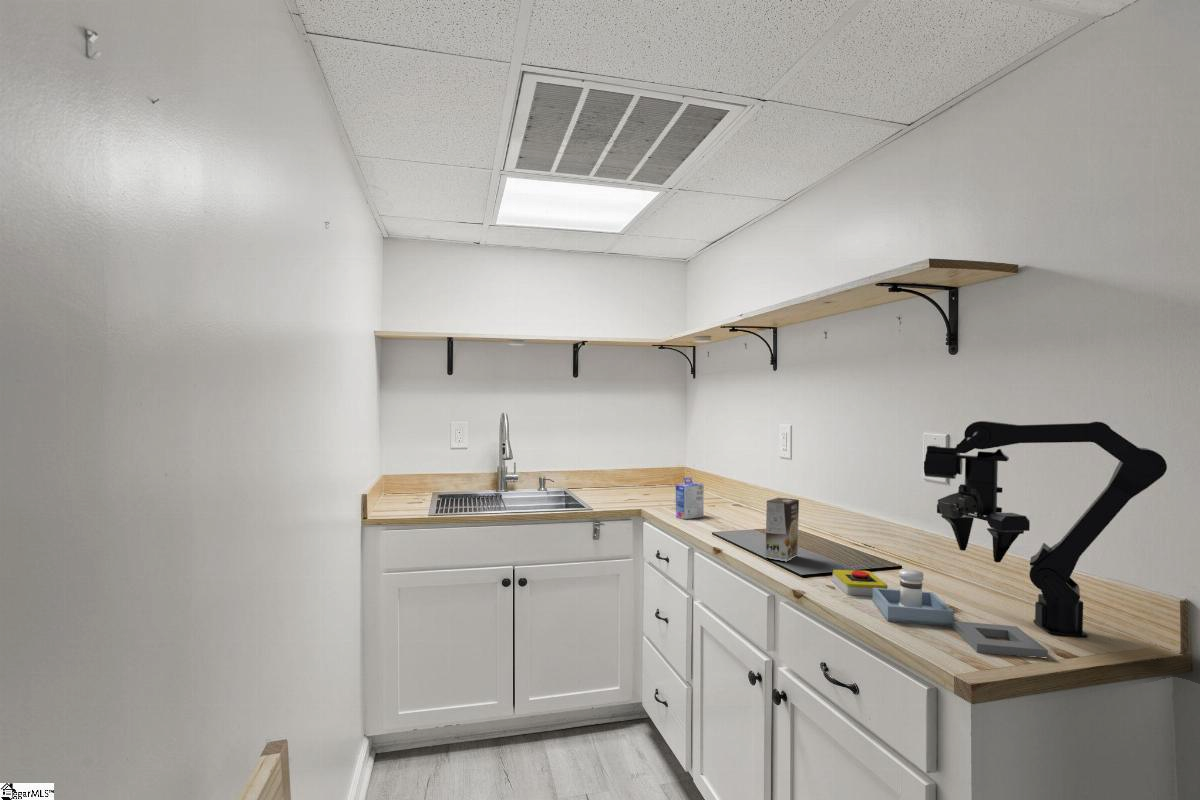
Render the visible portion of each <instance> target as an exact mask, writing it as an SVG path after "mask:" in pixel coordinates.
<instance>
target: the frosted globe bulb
mask: <svg viewBox="0 0 1200 800" xmlns="http://www.w3.org/2000/svg"><path fill="white" fill-rule="evenodd" d="M899 578H900V579H899V588H900V589H899V590H900V602H899V606H906V607H919V608H923V606H922V591H923V581H924V573H923V572H922V571H921V570H915V569H911V568H910V569H909V568H901V569H899Z"/></svg>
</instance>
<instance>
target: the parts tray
mask: <svg viewBox="0 0 1200 800" xmlns="http://www.w3.org/2000/svg"><path fill="white" fill-rule="evenodd" d="M899 602H900V589H897V588H896V589H894V588H887V589H884V588H873V599H872V603H873V604H874V606H875V607H877V609H878V611H879V612H880V613H881V614H882V616H883V617H884V618H885V620H886V621H887V622H892V623H903V624H912V625H913V624H914V625H926V626H938V627H949V628H950V627H951V628H953V621H955V611H954V610H953V609H951V607H950V606H948V605H947V604H946V603H945V602H944V601H943V600H942V599H941V598H939V596H938V595H936V594H935V593H934V592H933V591H923V590H922V606H923V608H919V607H906V606H899Z"/></svg>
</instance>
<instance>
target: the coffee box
mask: <svg viewBox="0 0 1200 800" xmlns="http://www.w3.org/2000/svg"><path fill="white" fill-rule="evenodd" d="M799 505H800V501H799V499H796V498H789V497H788V498H787V497H776V498H773V499H768V500H766V511H765V512H766V515H765V516H766V520H765V522H766V523H765V558H766V557H771V558H772V557H773V558H781V559H787V560H788V559H789V558H791V557H793V556H795V555H797V554H799V553H798V551H799V549H798V548H799V512H800V511H799V508H800V507H799ZM765 558H764V559H765Z"/></svg>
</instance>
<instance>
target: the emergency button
mask: <svg viewBox="0 0 1200 800" xmlns="http://www.w3.org/2000/svg"><path fill="white" fill-rule="evenodd" d="M828 579H829V580H830V581H831V582H832V583H833V584H834V585H835V586H836V588H838V589H839V590H840V591H841V592H842V593H844V594H845V595H846V596H847V597H848V598H850V599H859V600H860V599H863V600H865V599H866V600H867V599H868V600H873V588H884V589H889V588H888V584H887V583H886V582H884V581H883V580H882V579H880V578H879V577H878V576H877V575H875V574H874V573H872V572H871V571H869V570H856V569H853V570H851V569H833V571H832V577H829V578H828Z"/></svg>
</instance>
